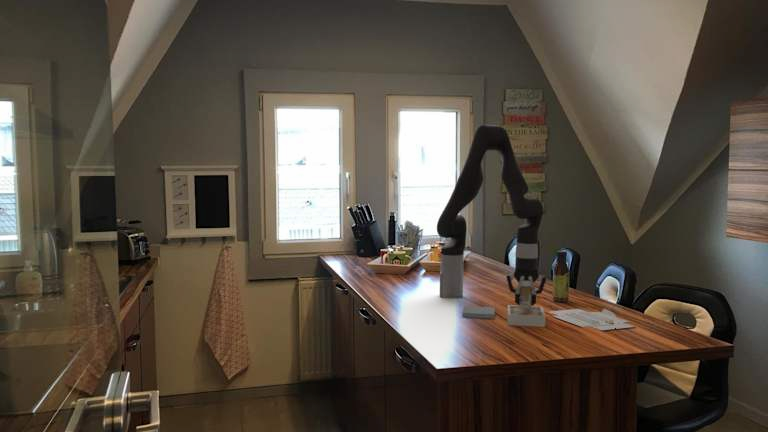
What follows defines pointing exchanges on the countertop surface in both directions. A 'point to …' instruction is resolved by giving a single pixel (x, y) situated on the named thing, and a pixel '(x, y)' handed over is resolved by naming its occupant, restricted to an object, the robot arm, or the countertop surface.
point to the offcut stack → (525, 311)
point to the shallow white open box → (526, 317)
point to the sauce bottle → (561, 278)
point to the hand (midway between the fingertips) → (525, 304)
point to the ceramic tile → (478, 312)
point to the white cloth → (591, 319)
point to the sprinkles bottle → (525, 295)
